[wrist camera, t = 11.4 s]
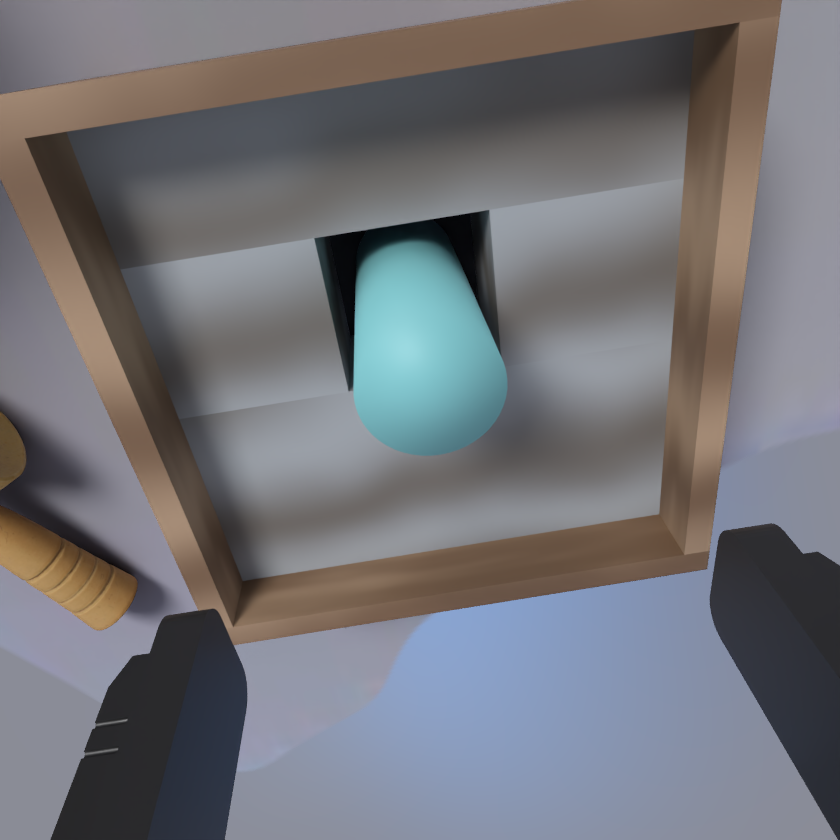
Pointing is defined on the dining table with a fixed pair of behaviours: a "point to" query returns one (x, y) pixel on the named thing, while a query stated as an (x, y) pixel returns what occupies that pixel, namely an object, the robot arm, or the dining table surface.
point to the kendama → (57, 554)
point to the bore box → (496, 284)
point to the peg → (421, 344)
